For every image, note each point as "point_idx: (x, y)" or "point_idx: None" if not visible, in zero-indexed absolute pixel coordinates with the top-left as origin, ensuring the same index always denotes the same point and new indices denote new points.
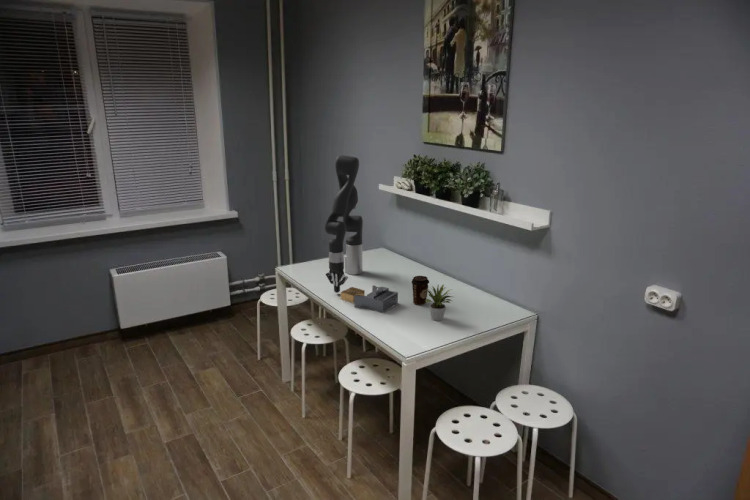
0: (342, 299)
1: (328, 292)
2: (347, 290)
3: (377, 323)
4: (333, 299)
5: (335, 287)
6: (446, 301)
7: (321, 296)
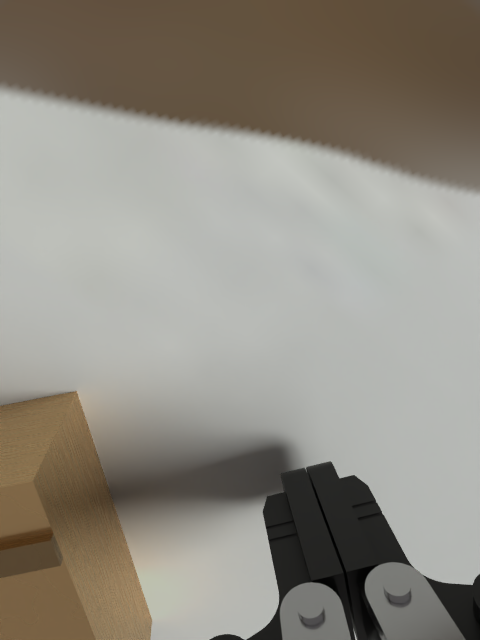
0: (35, 399)
1: (458, 411)
2: (30, 625)
3: None
4: (151, 286)
5: (337, 541)
6: None
7: (431, 212)
